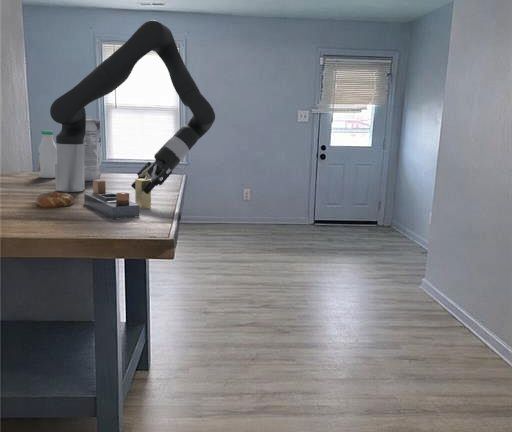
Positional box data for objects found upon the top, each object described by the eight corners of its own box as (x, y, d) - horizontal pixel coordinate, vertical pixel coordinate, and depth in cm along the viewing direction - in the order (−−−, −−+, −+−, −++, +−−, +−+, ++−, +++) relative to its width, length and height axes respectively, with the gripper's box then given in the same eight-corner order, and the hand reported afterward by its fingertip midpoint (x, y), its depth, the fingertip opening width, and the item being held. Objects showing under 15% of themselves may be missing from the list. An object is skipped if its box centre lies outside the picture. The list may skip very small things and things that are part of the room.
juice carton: (95, 181, 194) (94, 116, 188) (71, 180, 194) (69, 115, 188) (103, 179, 203) (102, 116, 197) (79, 177, 203) (77, 115, 197)
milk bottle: (62, 177, 202) (61, 131, 198) (49, 179, 195) (47, 131, 190) (48, 175, 204) (46, 130, 200) (35, 177, 197) (32, 130, 193)
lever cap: (135, 206, 148) (135, 178, 146) (145, 205, 150) (145, 178, 149) (141, 209, 145) (141, 180, 143) (151, 208, 147) (151, 180, 145)
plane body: (84, 204, 147) (83, 179, 146) (108, 202, 152) (108, 178, 151) (112, 219, 129) (112, 191, 128) (139, 216, 134) (139, 189, 132)
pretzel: (56, 210, 138) (56, 198, 137) (26, 206, 141) (26, 194, 140) (82, 203, 149) (81, 192, 149) (54, 200, 152) (53, 189, 152)
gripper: (154, 143, 153) (121, 179, 149) (175, 147, 143) (140, 185, 138) (168, 159, 158) (137, 194, 153) (189, 163, 147) (156, 201, 142)
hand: (139, 190), depth 146 cm, fingers open, 8 cm apart
